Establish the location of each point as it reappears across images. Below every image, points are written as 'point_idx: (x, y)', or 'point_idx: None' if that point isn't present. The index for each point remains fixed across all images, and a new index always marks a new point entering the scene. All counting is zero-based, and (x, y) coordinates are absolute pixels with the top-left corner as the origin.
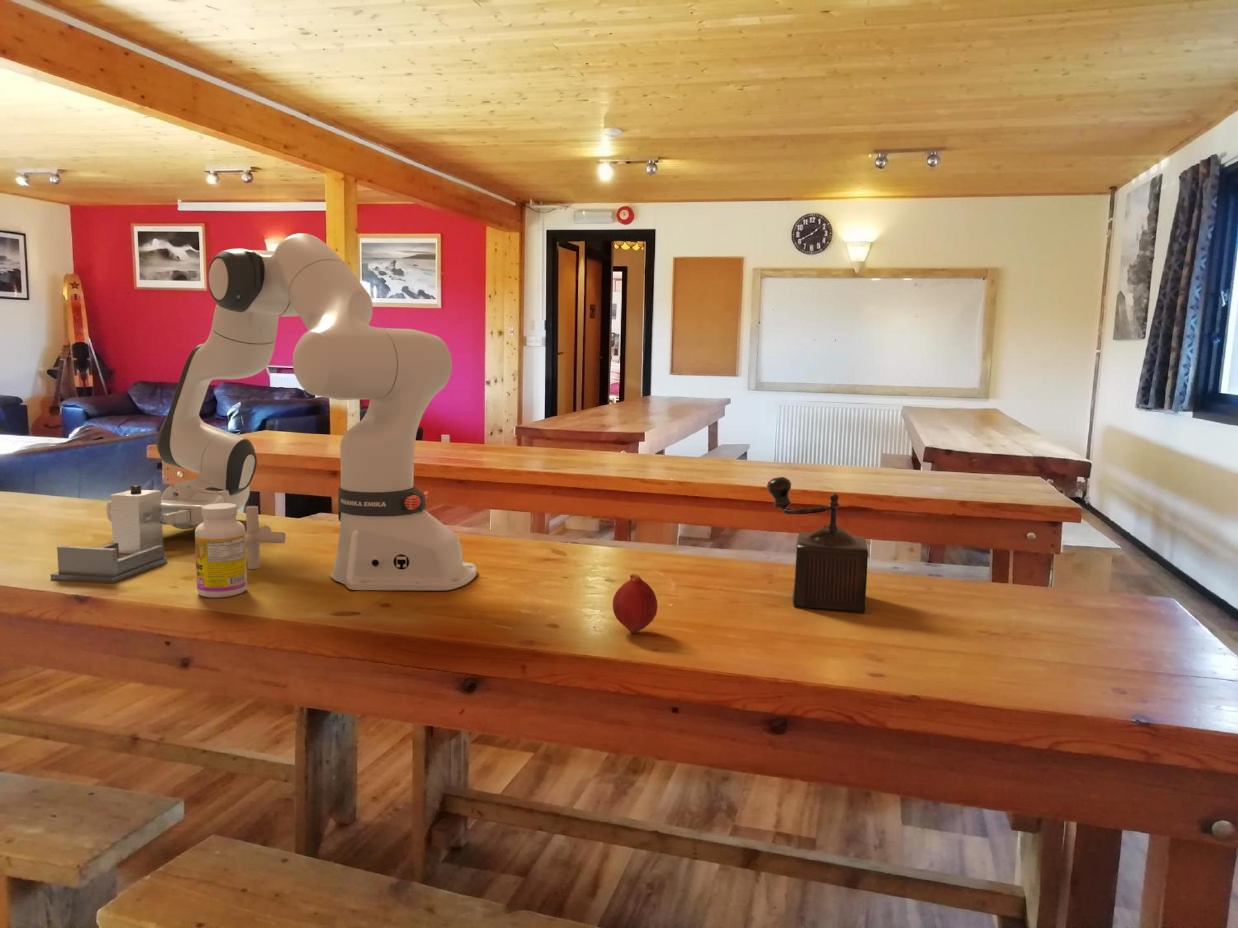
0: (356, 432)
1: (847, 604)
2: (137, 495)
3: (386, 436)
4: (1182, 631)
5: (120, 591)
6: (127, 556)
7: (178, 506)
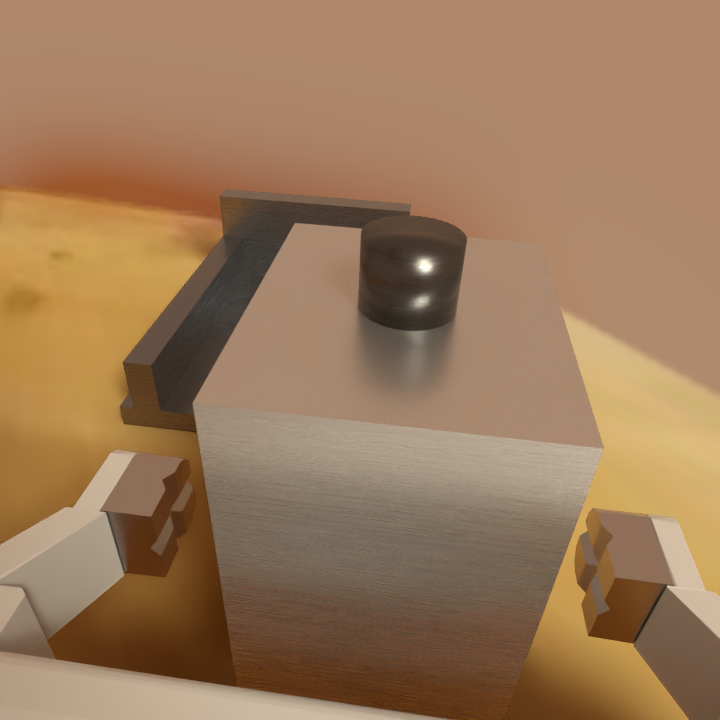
0: None
1: None
2: (319, 240)
3: None
4: None
5: (186, 238)
6: (217, 265)
7: (25, 657)
